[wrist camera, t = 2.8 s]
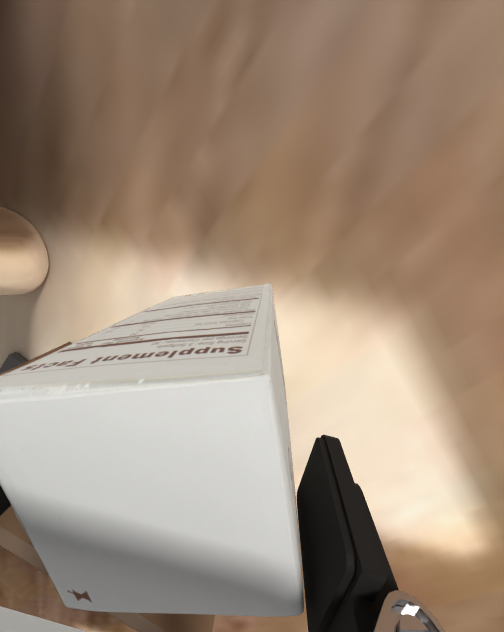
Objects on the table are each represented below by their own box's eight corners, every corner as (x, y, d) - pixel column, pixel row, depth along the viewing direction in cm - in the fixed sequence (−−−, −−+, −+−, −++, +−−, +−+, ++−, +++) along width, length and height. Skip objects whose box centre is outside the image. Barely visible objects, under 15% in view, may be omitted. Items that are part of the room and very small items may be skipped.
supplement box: (285, 375, 18) (309, 630, 6) (192, 383, 19) (53, 618, 7) (274, 280, 16) (280, 373, 4) (172, 292, 17) (-72, 401, 5)
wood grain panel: (62, 351, 19) (-146, 454, 10) (69, 342, 19) (-139, 437, 9) (228, 479, 22) (193, 666, 12) (237, 473, 21) (207, 658, 12)
